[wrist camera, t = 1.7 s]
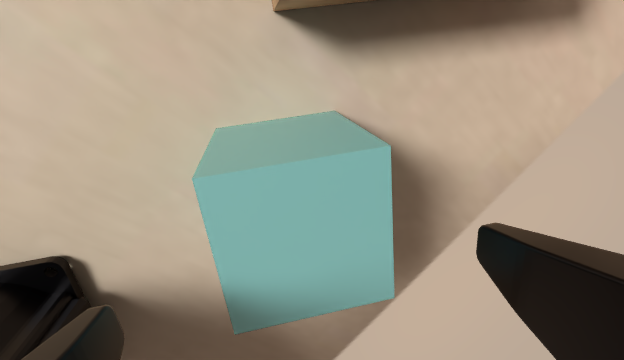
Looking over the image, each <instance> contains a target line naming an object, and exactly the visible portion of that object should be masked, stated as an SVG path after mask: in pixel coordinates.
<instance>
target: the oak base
mask: <svg viewBox="0 0 624 360" xmlns="http://www.w3.org/2000/svg"><path fill="white" fill-rule="evenodd" d="M364 1H374V0H272V4H273V11H280V10H290V9H299V8H308V7H318V6H327V5H336V4H346V3H355V2H364Z"/></svg>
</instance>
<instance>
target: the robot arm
mask: <svg viewBox="0 0 624 360" xmlns="http://www.w3.org/2000/svg"><path fill="white" fill-rule="evenodd" d="M476 254H477V258H478V260H479V262H480V264H481V265H482V267H483V268H484V269H485V271H486V272H487V273H488V275H489V276H490V278H491V279H492V281H493V282H494V283H495V285H496V286H497V287H498V289H499V290H500V292H501V293H502V294H503V296H504V297H505V299H506V300H507V301H508V303H509V304H510V305H511V307H512V308H513V309H514V311H515V312H516V313H517V314H518V316H519V317H520V318H521V319H522V321H523V322H524V323H525V324H526V325H527V326H528V328H529V329H530V330H531V331H532V332H533V333H534V334H535V336H536V337H537V338H538V339H539V340H540V341H541V343H543V345H544V346H545V347H546V348H547V349H548V350H549V352H550V353H551V354H552V355H553V356H554V358H555V359H556V360H624V255H622V254H618V253H615V252H611V251H607V250H603V249H599V248H595V247H591V246H587V245H583V244H579V243H575V242H571V241H567V240H563V239H559V238H555V237H551V236H547V235H543V234H540V233H535V232H532V231H528V230H523V229H519V228H516V227H512V226H508V225H504V224H500V223H492V224H486V225H482V226H481V227H480V228H479V230H478V240H477V250H476ZM50 267H53V268H55V269H56V270H57V271H53V270H51V269H50ZM123 345H124V333H123V330H122V327H121V325H120V323H119V321H118V318H117V316H116V314H115V312H114V309H113V308H112V307H111V306H110V305H102V306H97V307H93V308H91V306H90V304H89V302H88V300H86V299H85V297H84V295H83V293H82V290H81V288H80V286H79V284H78V282H77V280H76V278H75V276H74V274H73V272H72V270H71V268H70V266H69V264H68V262H67V261H66V260H64V259H63V258H60V257H47V258H42V259H36V260H31V261H26V262H20V263H15V264H10V265H4V266H0V360H120V359H121V354H122V349H123Z"/></svg>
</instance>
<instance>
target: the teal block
mask: <svg viewBox="0 0 624 360" xmlns="http://www.w3.org/2000/svg"><path fill="white" fill-rule="evenodd" d="M192 181H193V184H194V188H195V191H196V195H197V199H198V202H199V206H200V210H201V213H202V217H203V221H204V224H205V228H206V232H207V235H208V239H209V243H210V246H211V250H212V253H213V257H214V261H215V264H216V268H217V272H218V275H219V279H220V283H221V286H222V290H223V294H224V297H225V301H226V304H227V308H228V312H229V315H230V319H231V323H232V326H233V330H234V334H235V335H236V334H240V333H244V332H249V331H253V330H257V329H262V328H266V327H270V326H275V325H279V324H283V323H288V322H292V321H297V320H301V319H305V318H310V317H314V316H318V315H323V314H327V313H331V312H336V311H340V310H344V309H349V308H353V307H357V306H362V305H366V304H370V303H375V302H379V301H383V300H388V299H392V298H394V259H393V218H392V176H391V146H390V145H389V144H387V143H386V142H384V141H382V140H381V139H379V138H378V137H376V136H374V135H373V134H371V133H370V132H368V131H366V130H365V129H363V128H361V127H360V126H358V125H357V124H355V123H353V122H352V121H350V120H349V119H347V118H345V117H344V116H342V115H341V114H339V113H337V112H336V111H330V112H323V113H317V114H310V115H303V116H297V117H290V118H283V119H276V120H270V121H263V122H256V123H250V124H243V125H236V126H230V127H223V128H216V130H215V132H214V134H213V136H212V138H211V140H210V142H209V144H208V146H207V149H206V151H205V153H204V155H203V157H202V159H201V161H200V163H199V165H198V167H197V170H196V172H195V174H194V176H193V178H192Z"/></svg>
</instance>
